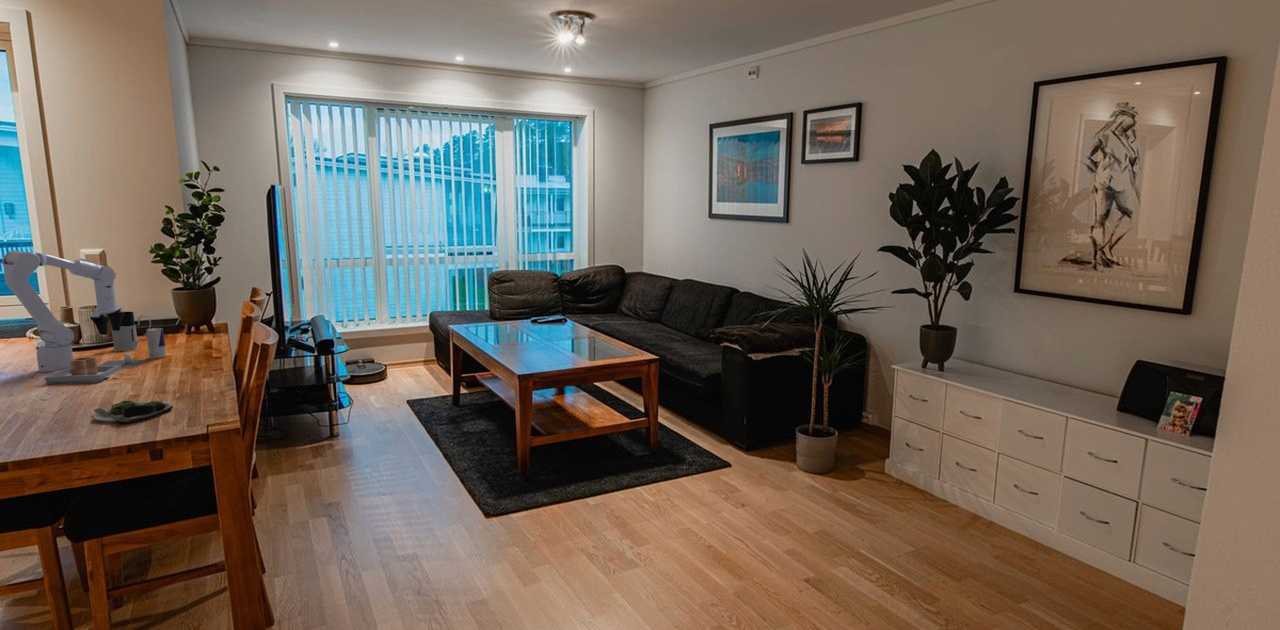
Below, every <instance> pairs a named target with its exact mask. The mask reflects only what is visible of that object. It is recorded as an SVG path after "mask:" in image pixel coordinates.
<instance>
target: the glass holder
mask: <svg viewBox="0 0 1280 630" xmlns="http://www.w3.org/2000/svg"><path fill="white" fill-rule="evenodd" d="M124 312H125V314H124V316H123V318H122V321H121V326H120V330H119V331H113V329H112V326H111V335H112V342H113V349H112V351H113V352H116V351H123V352H129V351H128V350H132V351H136V350H135V349H137V350H139V349H140V347H139V342H140V341H141V340H142V339H143V338H144V337H147V334H146V333H145V334H144V335H143V336H142V337H140V338H139V339H138V336H137V327H138V326H140V322H141V321H140V319H141V318H142V317H146V318H147V319H148V322H149V327H148V329H151V326H152V320H151V318H150V317H149V316H148V315H140V316H139V317H138V319H137V325H136V322H135V314H134V311H124ZM138 348H139V349H138Z"/></svg>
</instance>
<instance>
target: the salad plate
mask: <svg viewBox="0 0 1280 630" xmlns="http://www.w3.org/2000/svg"><path fill="white" fill-rule="evenodd" d="M173 407H174V405H173V403H172V402H169V401H167V402H166V401H161V400H160V401H159V400H151V401H132V400H122V401H120V402H116V403H112V402H111V403H110V407H108V408H107V409H106V410H105V409H103V408H101V407H98V408H95V409H93V412H95V413H96V414H94V415H93V418H94V421H98V422H101V421H102V423H112V422H116V423H115V424H131V423H130V422H134V423H139V422H138V421H140V422H144V421H143V420H145V421H148V420H147V419H149V420H151V418H152V419H155V418H157V417H159V415H160V416H162V415H165V414H167V413H168V412H170V411H171V410H172V409H173ZM164 413H165V414H164ZM154 417H155V418H154Z"/></svg>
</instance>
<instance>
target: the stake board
mask: <svg viewBox="0 0 1280 630" xmlns="http://www.w3.org/2000/svg"><path fill="white" fill-rule="evenodd" d="M150 360H152V359H150V358H143V359H132V355H131V353H125V354H123V359H117V360H116V359H115V360H107V361H105V362H103V363H101V364H98V365H97V366H113V365H121V367H122V370H126V369H128V370H129V369H134V368H136V367H138V366H141V365H143V364H144V363H147V362H148V361H150Z"/></svg>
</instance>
